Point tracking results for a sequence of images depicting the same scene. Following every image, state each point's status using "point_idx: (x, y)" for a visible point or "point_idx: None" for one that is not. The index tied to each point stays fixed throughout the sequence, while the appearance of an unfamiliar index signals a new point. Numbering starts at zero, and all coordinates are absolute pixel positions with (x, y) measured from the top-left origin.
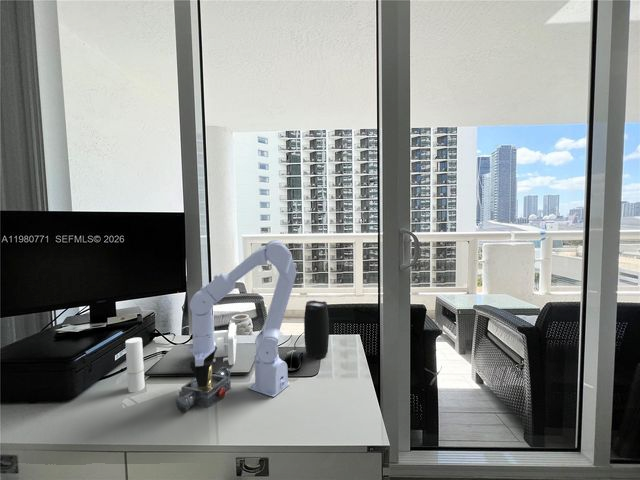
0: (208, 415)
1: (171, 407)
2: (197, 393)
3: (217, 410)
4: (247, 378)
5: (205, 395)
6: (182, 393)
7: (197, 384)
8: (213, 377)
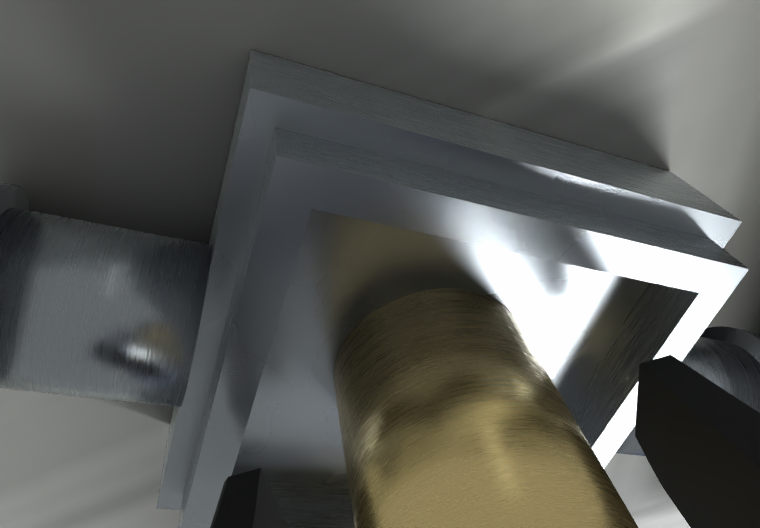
0: (47, 475)
1: (60, 18)
2: (209, 398)
3: (142, 501)
4: (646, 499)
5: (188, 485)
6: (233, 158)
7: (374, 359)
8: (595, 406)
